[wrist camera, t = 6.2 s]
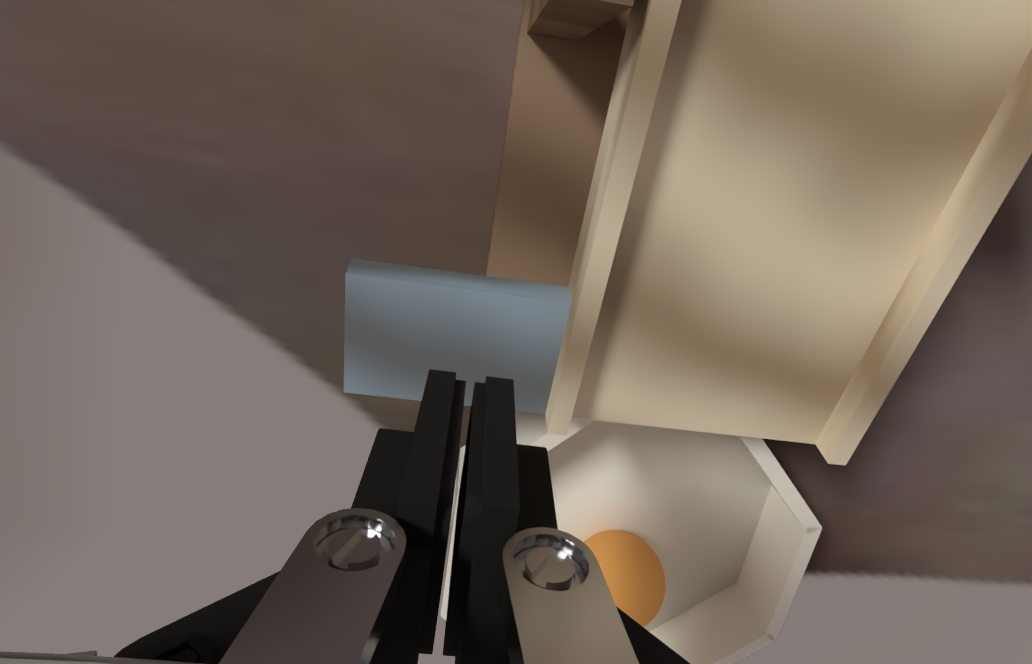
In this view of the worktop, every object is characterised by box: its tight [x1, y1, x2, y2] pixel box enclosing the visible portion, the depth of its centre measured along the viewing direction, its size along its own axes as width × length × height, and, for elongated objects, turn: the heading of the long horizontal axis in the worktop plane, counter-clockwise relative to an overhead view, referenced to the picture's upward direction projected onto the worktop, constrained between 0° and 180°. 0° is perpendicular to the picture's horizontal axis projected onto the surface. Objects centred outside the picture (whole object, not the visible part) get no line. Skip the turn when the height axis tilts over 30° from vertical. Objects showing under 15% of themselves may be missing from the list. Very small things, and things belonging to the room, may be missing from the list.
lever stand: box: [486, 0, 634, 287], centre depth 17 cm, size 23×14×9 cm, turn 171°
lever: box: [344, 0, 1032, 466], centre depth 14 cm, size 22×16×6 cm
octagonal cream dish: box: [441, 411, 822, 664], centre depth 26 cm, size 14×14×4 cm
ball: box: [583, 530, 666, 627], centre depth 25 cm, size 4×4×4 cm
